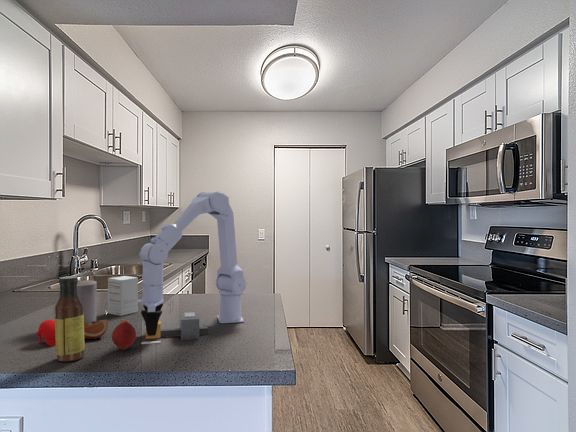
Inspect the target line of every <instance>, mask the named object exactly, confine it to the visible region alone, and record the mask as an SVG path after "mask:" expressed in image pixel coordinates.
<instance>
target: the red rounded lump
mask: <svg viewBox="0 0 576 432" xmlns="http://www.w3.org/2000/svg"><path fill="white" fill-rule="evenodd" d="M120 322H121V323H119V324H118V325H117V326H116V327H115V328H114V330H113V331H112V334H111V340H112V343H113V345H114V346H116V347H117V348H119V349H120V350H121V351H125V350H127V349H128V348H129V347H131V346H132V345H133V344H134V343H135V340H136V339H137V338H136V337H137V332H136V329H135V327H134V326H133V325H132V324H131V323H130V322H128V321H127V320H126V319H124V318H122V319H121V320H120Z"/></svg>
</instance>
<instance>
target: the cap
mask: <svg viewBox="0 0 576 432" xmlns="http://www.w3.org/2000/svg"><path fill="white" fill-rule="evenodd" d="M35 333H36V336H37V337H38V343H39V344H41V343H42V338H44V341H45V342H44V343H46V345H48V346H49V347H56V336H55V319H46V320H44V321H42V322H41V323H40V324H39V326H38V331H36V332H35Z"/></svg>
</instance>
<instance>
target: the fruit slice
mask: <svg viewBox="0 0 576 432" xmlns="http://www.w3.org/2000/svg"><path fill="white" fill-rule="evenodd" d="M108 325H109V322H108V319H99V320H96V321H92V322H91V323H84V339H87V340H96V339H99V338H101V337H103V336H104V334H105V333H106V332H107V331H108Z"/></svg>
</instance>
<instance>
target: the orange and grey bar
mask: <svg viewBox="0 0 576 432" xmlns="http://www.w3.org/2000/svg"><path fill="white" fill-rule="evenodd" d="M203 334H204V335H209V327H208V326H199V336H202V335H203ZM204 335H203V336H204ZM167 336H168V337H169V336H171V337H181V328H162V320H159V321H158V325H157V331H156V335H154V336H148V335H147V331H146V330H145V340H148V339H149V340H150V339H161V338H167Z"/></svg>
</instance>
